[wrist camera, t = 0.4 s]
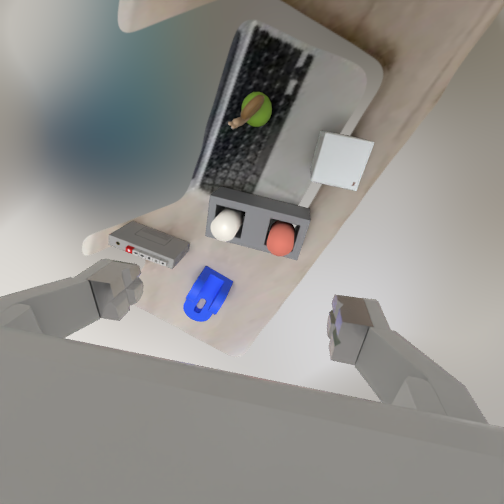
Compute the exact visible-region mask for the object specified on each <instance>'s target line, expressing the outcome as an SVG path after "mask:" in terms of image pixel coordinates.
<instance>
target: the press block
mask: <svg viewBox="0 0 504 504" xmlns="http://www.w3.org/2000/svg"><path fill="white" fill-rule="evenodd" d="M225 207H229V208H233V209H237V210H241V211H244V212H246V213H245V218H244V223H243V224H242V225H241V226H240V228H239V230H238V231H237V233H236V235H235V236H234V238H233V239H232V240H230V241H226V242H230V243H234V244H237V245H241V246H245V247H249V248H253V249H256V250H260V251H264V252H268V253H271V252H270V251H269V250H268V248H267V239H268V236H269V232H270V231H268V230H269V226H270V222H271V218H272V219H276V220H280V221H284V222H288V223H292V224H295V225H297V227H296V231H295V234H294V245H293V249H292V251H291V252H290V253H289V254H287V255H285V256H283V257H287V258H290V259H294V260H297V259H298V256H299V253H300V250H301V248H302V245H303V242H304V239H305V236H306V233H307V230H308V227H309V224H310V221H311V219H310V209H309V208H305V207H301V206H297V205H293V204H289V203H285V202H281V201H277V200H273V199H269V198H265V197H261V196H257V195H253V194H249V193H245V192H241V191H237V190H233V189H229V188H225V187H220V188H219V189H217V190H216V191H215V192H213V193H212V194H211V195H210V200H209V208H208V217H207V226H206V235H205V236H207V237H211V238H215V237H214V236H213V234H212V232H211V228H210V227H211V223H212V221H213V220H214V219H215V218H216V217H217V216H218V215H219V213H220V212H221V211H222V210H223V209H224V208H225ZM215 239H216V238H215Z"/></svg>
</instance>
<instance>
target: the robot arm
mask: <svg viewBox="0 0 504 504" xmlns="http://www.w3.org/2000/svg"><path fill="white" fill-rule="evenodd" d="M140 274H141V271H140V267H139V266H138V265H137V264H132V263H126V262H121V261H115V260H109V259H101V260H100V261H98V262H97V263H95V264H94V265H92V266H91V267H89V268H88V269H86V270H85V271H83V272H82V273H80V274H78V275H77V276H75V277H74V278H71V277H70V278H66V279H63V280H59V281H55V282H51V283H48V284H44V285H41V286H37V287H34V288H30V289H27V290H23V291H20V292H16V293H12V294H9V295H5V296H2V297H0V504H504V427H500V426H495V425H490V424H488V422H487V420H486V419H485V417H484V416H483V414H482V413H481V411H480V409H479V408H478V406H477V404H476V403H475V401H474V400H473V398H472V397H471V395H470V393H469V392H468V390H467V388H466V387H465V386H464V385H463V384H462V383H461V382H459V381H458V380H457V379H456V378H454V377H453V376H452V375H450V374H449V373H448V372H447V371H445V370H444V369H443V368H442V367H440V366H439V365H438V364H436V363H435V362H434V361H433V360H431V359H430V358H429V357H428V356H426V355H425V354H424V353H423V352H421V351H420V350H419V349H418V348H416V347H415V346H414V345H412V344H411V343H410V342H409V341H407V340H406V339H405V338H404V337H402V336H401V335H400V334H398V333H397V332H396V331H392V330H391V329H390V327H389V325H388V323H387V320H386V318H385V316H384V314H383V311H382V309H381V307H380V304H379V302H378V301H377V300H374V299H366V298H356V297H349V296H342V295H334V298H333V301H332V307H333V310H332V311H331V312H329V317H328V323H327V334H328V337H329V338H330V339H331V340H330V343H329V350H330V357H331V360H333V361H337V362H342V363H347V364H352V365H355V367H356V368H357V370H358V371H359V372H360V374H361V375H362V376H363V378H364V379H365V380H366V382H367V383H368V384H369V386H370V387H371V388H372V390H373V391H374V392H375V393H376V395H377V396H378V398H379V399H380V400H381V402H382V403H381V402H376V401H371V400H366V399H362V398H357V397H352V396H347V395H342V394H336V393H332V392H327V391H321V390H316V389H312V388H307V387H301V386H297V385H291V384H287V383H281V382H277V381H272V380H267V379H262V378H257V377H253V376H248V375H243V374H238V373H233V372H228V371H223V370H218V369H213V368H209V367H204V366H199V365H193V364H188V363H183V362H179V361H174V360H169V359H164V358H159V357H154V356H149V355H144V354H139V353H134V352H129V351H124V350H119V349H113V348H109V347H104V346H99V345H94V344H90V343H85V342H80V341H75V340H70V339H65V337H67V336H69V335H70V334H72V333H74V332H76V331H78V330H80V329H81V328H84V327H85V326H87V325H89V324H91V323H93V322H95V321H96V320H98V319H100V318H105V319H111V320H118V321H120V320H121V319H122V318H123V316H124V315H125V314H126V313H127V312H128V311H129V310H130V305H133V304H135V303H137V302H138V300H139V299H140V298H141V296H142V293H143V282H142V281H141V279H140V278H139V276H140Z"/></svg>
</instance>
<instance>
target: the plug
mask: <svg viewBox="0 0 504 504" xmlns="http://www.w3.org/2000/svg"><path fill="white" fill-rule="evenodd" d="M242 223H243V214H242V212H241V211H240V210H237V209H233V208H229V207H226V208H224V209H223V210H222V211H221V212H220V213H219V215H218V216H217V217H216V218H215V219H214V220H213V221H212V223H211V227H210V228H211V232H212V234H213V236H214V237H215V238H216V239H218V240H220V241H230V240H232V239H233V238H234V236H235V235H236V233H237V231H238V230H239V228H240V226H241V225H242Z"/></svg>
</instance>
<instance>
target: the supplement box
mask: <svg viewBox="0 0 504 504" xmlns="http://www.w3.org/2000/svg"><path fill="white" fill-rule="evenodd" d="M373 145H374V142H372V141H368V140H364V139H360V138H356V137H352V136H348V135H343V134H338V133H332V132H326V131H320V135H319V138H318V142H317V146H316V149H315V153H314V156H313V160H312V164H311V168H310V173H311V181H312V182H316V183H321V184H325V185H330V186H334V187H339V188H344V189H348V190H353V191H357V189H358V186H359V183H360V180H361V178H362V175H363V172H364V169H365V167H366V164H367V161H368V159H369V156H370V153H371V151H372V148H373Z"/></svg>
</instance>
